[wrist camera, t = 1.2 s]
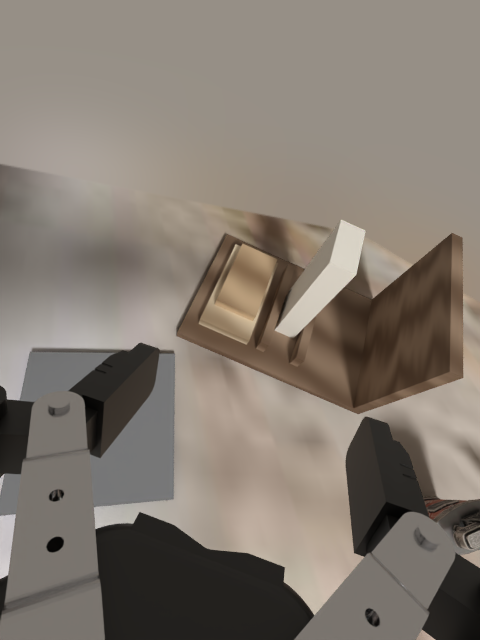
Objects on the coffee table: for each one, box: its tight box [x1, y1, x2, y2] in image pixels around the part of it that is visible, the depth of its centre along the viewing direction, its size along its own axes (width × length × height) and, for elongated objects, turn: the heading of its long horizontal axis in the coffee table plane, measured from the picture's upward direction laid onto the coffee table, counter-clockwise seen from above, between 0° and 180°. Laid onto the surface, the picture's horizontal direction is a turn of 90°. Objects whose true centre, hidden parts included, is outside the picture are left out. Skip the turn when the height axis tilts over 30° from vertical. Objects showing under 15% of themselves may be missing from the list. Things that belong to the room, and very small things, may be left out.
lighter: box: [423, 497, 480, 555], centre depth 31 cm, size 8×3×10 cm, turn 105°
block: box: [275, 220, 365, 338], centre depth 36 cm, size 6×2×14 cm, turn 160°
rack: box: [177, 233, 463, 414], centre depth 36 cm, size 16×23×15 cm
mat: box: [0, 352, 175, 516], centre depth 32 cm, size 14×14×1 cm
